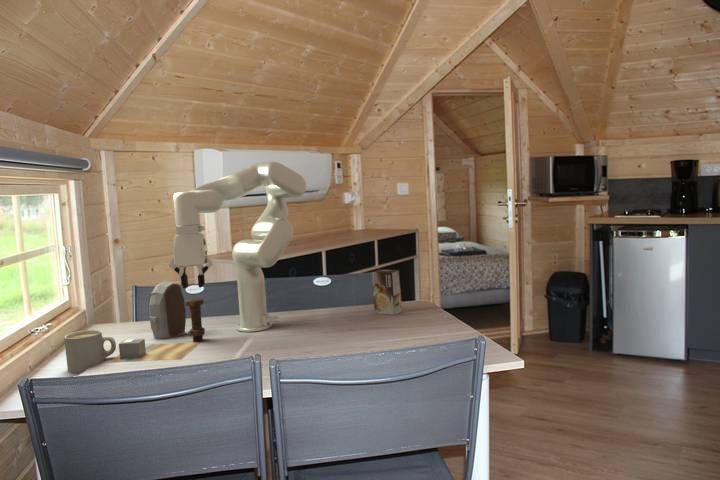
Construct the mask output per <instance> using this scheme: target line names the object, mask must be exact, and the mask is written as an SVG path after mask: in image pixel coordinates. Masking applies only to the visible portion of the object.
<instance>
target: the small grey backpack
mask: <svg viewBox="0 0 720 480" xmlns="http://www.w3.org/2000/svg"><path fill="white" fill-rule="evenodd" d="M147 306H148V317H149V322H150V323H149V324H150V329H151V332H152V335H153V339H158V340H159V339H160V340H161V339H164V340H165V339H169V338H170V339H171V338H178V337H179V336H181V335H183V334H185V332H186V322H187V321H186V320H187V309H186V308H187V307H186V301H185V297H184V295H183V287H182V286H180V285H179V284H178V283H176V282H173V281H169V280H164V281H162V282H159V283H158V284H157V285H155V286H154V288H153V289H152V291H151V294H150V296H149V299H148V305H147Z"/></svg>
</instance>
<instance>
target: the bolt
mask: <svg viewBox="0 0 720 480" xmlns="http://www.w3.org/2000/svg"><path fill="white" fill-rule="evenodd" d="M203 304H204V298H199V297H198V298H197V297H196V298H190V299H186V300H185V307H189V310H190V321H191V328H190V330H189V335H190V336H191V337H192V343H194V342H203V340H204V335H205V333H206V329H205V328H204V327H203V326H202V325H203V324H202V312H201V309H202V307H201V306H202V305H203Z"/></svg>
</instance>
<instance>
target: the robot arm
mask: <svg viewBox="0 0 720 480" xmlns="http://www.w3.org/2000/svg"><path fill="white" fill-rule="evenodd" d="M264 187H265V192H266V193H265V194H266V197H267V198H266V199H267V205H266V207H265V209H264V210H263V211H262V213H261V215H260V216H259V218H258V219H257V220H256V222H254V224H253V226H252V227H251V232H250V235H251V238H252V239H242V240H239V241H237V242H236V243H235V244H234V246H233V247H232V251H231V256H232V261H233V264H234V268H235V273H236V283H237V295H238V296H237V297H238V308H239V309H238V310H239V324H236V330H237V331H238V332H244V333H245V332H246V333H248V332H249V333H250V332H251V333H252V332H260V331H264V330H267V329H270V328H271V327H272V326H273V323H280V316H277V315H272V316H271V315H270V312H267V311H268V309H267V296H266V282H265V275H264V272H263V270H262V268H271V267H273V266H274V265H275V264H276V263H277V262H278V261H279V259H280V257H281V256H282V254H283V253H284V252H285V251H286V248H288V246H289V244H290V243H291V241H292V239H293V235H294V228H293V225H292V222H291V221H290V220H288V217H289V207H288V206H287V205H288V204H287V201H286V199H292V198H293V199H294V198H295V199H296V198H300V197H302V196H303V195H304V194H305V192H306V190H307V183H306V180H305V178H304V177H303V176H302V174H300V173H298V172H296V171H295V170H293V169H291V168H289V167H288V166H286V165H284V164H282V163H280V162H278V161H265V162H263V161H262V162H258V163H253V164H251V165H249V166H247V167H245V168H242V169H241V170H238V171H236V172H234V173H232V174H230V175H226V176H224V177H221V178H219V179H216V180H215V179H214V180H212V181H210V182H207V183H205V184H201V185H200V186H197V187H194V188H193V189H191V190H189V191H179V192H175V193H174V194H173V212H174V221H175V222H174V223H175V233H176V235H174V240H173V258H172V260H171V262H169V263H170V264H169V265H168V267H169V268H170V269H171V270H173V271H175V273H177V275H178V276H180V285H181V286H182V289H186V288H188V287H189V279H188V278H189V277H188V275H187V273H186V271H187V267H196V268H197V272H198V275H197V284H198V288H202V287H204V285H205V284H206V283H205V282H206V279H205V274H206V272H208V270H209V269H210V268H212V266H213V265H215V262H214V260H212V259H211V257H210V256H209V250H208V244H207V240H206V236H205V233H202V232H203V231H206V227H205V225H202V224H201V218H200V216H201V215H200V214H211V213H215V212H218V211H220V210H221V208H222V207H223V205H224V202H225V201H231V200H237V199H240V198H244V197H245V196H247V195H248V194H251V193H252V192H254V191H256V190H259V189H260V188H264Z"/></svg>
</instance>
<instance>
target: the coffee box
mask: <svg viewBox="0 0 720 480" xmlns="http://www.w3.org/2000/svg"><path fill="white" fill-rule="evenodd" d="M400 273H401V272H400V269H381V268H379V269H376V270H373V271H372V272H371V277H372V279H371V280H372V292H373V293H372V295H373V308H374V309H373V310H374V314H376V315H391V316H396V315H398V314H401V313H403V307H402V305H403V304H402V303H403V302H402V289H401V274H400Z"/></svg>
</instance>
